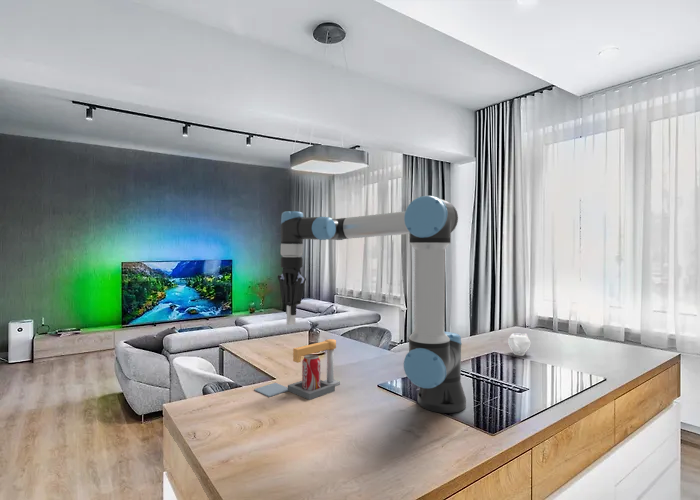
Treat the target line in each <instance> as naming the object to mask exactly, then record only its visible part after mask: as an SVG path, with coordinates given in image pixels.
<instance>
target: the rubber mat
mask: <svg viewBox="0 0 700 500" xmlns="http://www.w3.org/2000/svg"><path fill="white" fill-rule="evenodd" d="M253 390H254V391H255V392H257V393H259V394H261V395H263V396H266V397H268V398H271V397H273V396H277V395H281V394H283V393H286V392H289V391H288V386H285V385H283V384H280V383H278V382H273V383H270V384H267V385H263V386H259V387H257V388H254V389H253Z"/></svg>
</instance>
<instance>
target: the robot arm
mask: <svg viewBox="0 0 700 500" xmlns="http://www.w3.org/2000/svg"><path fill="white" fill-rule="evenodd" d="M280 220H281V221H280V238H281V239H280V241H281V242H280V255H281V257H280V268H282V272H281V274H279V275H277V279H278V282H279V288H280V296H281V298H280V299H281V302H282V304H283V303H284V304H285V314H286V325H288V326H292V325H296V319H297V317H296V315H297V306H298V305H301V303H302V299H303V298H302V297H303V291H304V288H305V287H304V285H305V282H306V280H307V279H306V276H302V272H301V269H302V268H303V260H304V259H303V249H304V248H303V247H304V245H303V244H304V240H314V241H315V240H316V241H317V240H319V241H327V240H331V241H332V240H334V241H343V240H349V239H359V238H372V237H386V236H397V235H398V236H399V235H409V237H408V238H409V245H410V246H411V247H412V248H413V249H414V310H413V312H414V315H413V316H414V318H413V319H414V321H413V324H414V325H413V328H414V330H413V332H412V333H411V334H410V335H409V337H408V352H407V353H406V354H405V357H404V360H403V371H404V373H405V375H406V377H407V378H408V380H409V381H410V382H411V383H412V384H413V385H414V386H417V387H419V390H418V392H417V404H418V406H420V407H422V409H425V410H427V411H430V412H434V413H439V414H440V413H442V414H453V413H459V412H462V411H464V410H466V408H467V398H466V397H467V396H466V395H465V394H466V393H465V391H464V387H463V385H462V381H461V379H462V378H461V377H462V376H461V375H462V373H461V372H462V370H461V369H462V345H463V344H462V337H461V335H460V334H458V333H456V332H451V331H445V322H446V321H445V315H446V314H445V312H446V311H445V310H446V309H445V308H446V307H445V305H446V304H445V303H446V302H445V300H446V299H445V298H446V297H445V292H446V289H445V288H446V249H447V248H448V247H449V246H450V245H451V234H452V232H453V231H454V230H455V229H456V227H457V225H458V221H459V216H458V211H457V209H456V208H455V206H454V205H453V204H452V203H451V202H449V201H447V200H445V199H441V198H440V197H438V196H436V195H435V196H434V195H423V196H419V197H417V198H415V199H413V200H412V201H411V202H410V203H409V204H408V205H407V207H406V209H405V211H398V212H387V213H378V214H368V215H360V216H351V217H341V218H332V217H329V216H312V217H311V216H310V217H307V216H306V217H305V216H304V213H303V211H302V212H301V211H295V210H292V211H289V210H288V211H283V212H281V218H280Z"/></svg>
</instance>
